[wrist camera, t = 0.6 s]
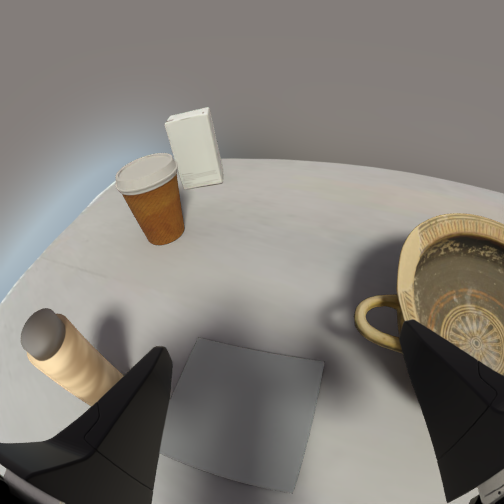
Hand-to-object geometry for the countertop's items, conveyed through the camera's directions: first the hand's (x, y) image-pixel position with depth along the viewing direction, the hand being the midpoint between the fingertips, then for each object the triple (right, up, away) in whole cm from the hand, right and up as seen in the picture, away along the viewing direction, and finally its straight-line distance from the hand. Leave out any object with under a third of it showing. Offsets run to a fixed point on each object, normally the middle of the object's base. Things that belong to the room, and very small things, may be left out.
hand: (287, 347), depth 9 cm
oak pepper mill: (-16, -11, +14) cm, 24 cm away
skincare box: (-11, +18, +46) cm, 51 cm away
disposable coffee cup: (-15, +6, +34) cm, 38 cm away
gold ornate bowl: (+22, -8, +12) cm, 26 cm away
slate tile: (-2, -11, +12) cm, 17 cm away
